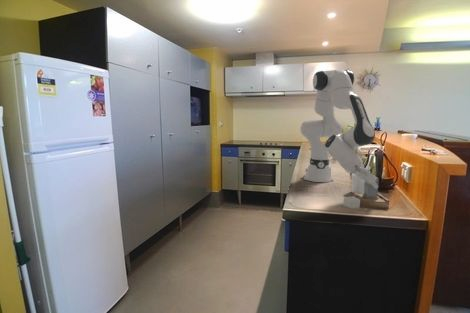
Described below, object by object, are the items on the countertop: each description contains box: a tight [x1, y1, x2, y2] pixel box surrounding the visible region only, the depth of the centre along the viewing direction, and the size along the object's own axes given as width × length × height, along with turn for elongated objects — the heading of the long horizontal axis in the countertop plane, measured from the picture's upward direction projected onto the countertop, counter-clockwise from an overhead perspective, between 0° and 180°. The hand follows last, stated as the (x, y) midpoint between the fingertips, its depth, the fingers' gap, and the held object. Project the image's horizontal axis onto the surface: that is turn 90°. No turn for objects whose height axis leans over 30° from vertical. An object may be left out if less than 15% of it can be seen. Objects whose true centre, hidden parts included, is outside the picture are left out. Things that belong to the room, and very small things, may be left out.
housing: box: [362, 174, 379, 199], centre depth 126 cm, size 5×5×11 cm
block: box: [343, 196, 361, 209], centre depth 123 cm, size 5×5×4 cm
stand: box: [352, 192, 390, 209], centre depth 127 cm, size 12×12×4 cm
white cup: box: [350, 173, 365, 194], centre depth 145 cm, size 8×8×10 cm
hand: (372, 184), depth 126 cm, fingers open, 8 cm apart
